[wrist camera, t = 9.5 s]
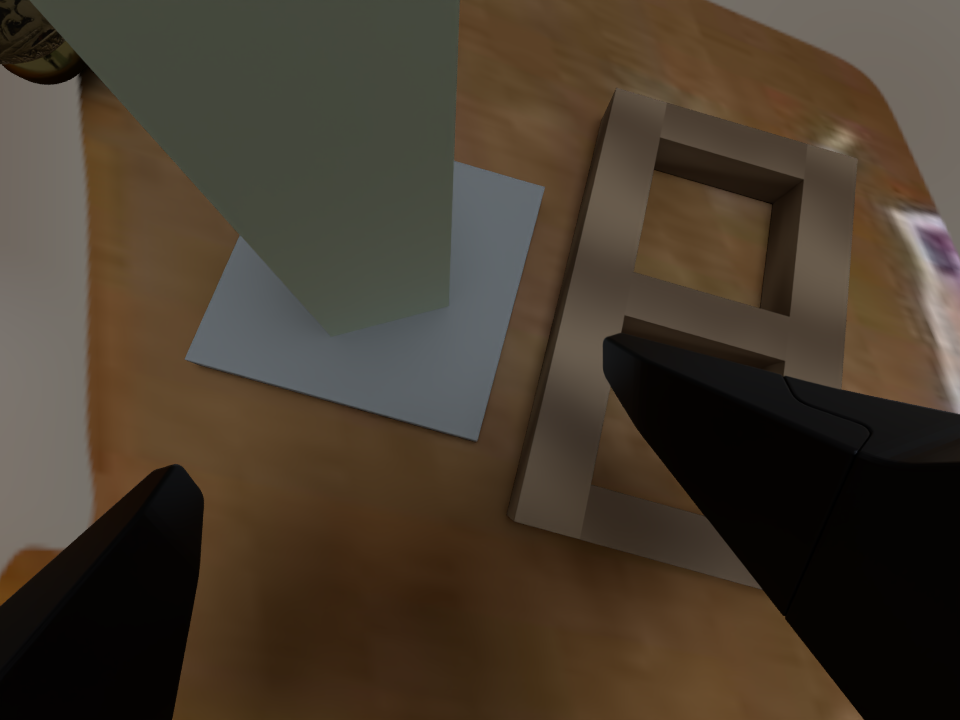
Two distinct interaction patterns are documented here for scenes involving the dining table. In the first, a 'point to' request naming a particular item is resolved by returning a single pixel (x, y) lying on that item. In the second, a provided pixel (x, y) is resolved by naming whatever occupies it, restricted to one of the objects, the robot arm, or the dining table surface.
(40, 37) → the dark olive textured piece
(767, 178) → the puzzle board
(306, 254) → the sage block
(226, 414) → the dining table surface
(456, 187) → the grey mat
